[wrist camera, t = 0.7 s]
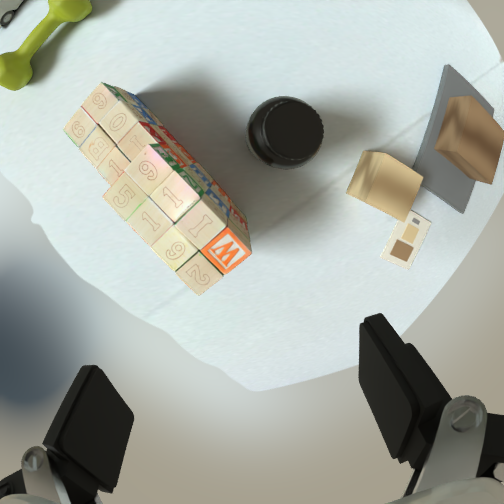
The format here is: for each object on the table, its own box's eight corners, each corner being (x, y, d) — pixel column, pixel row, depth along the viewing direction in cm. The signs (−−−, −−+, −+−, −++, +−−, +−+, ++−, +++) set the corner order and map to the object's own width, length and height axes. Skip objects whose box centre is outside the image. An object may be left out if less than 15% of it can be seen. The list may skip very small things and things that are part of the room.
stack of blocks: (100, 129, 29) (44, 128, 18) (134, 93, 28) (87, 73, 17) (210, 249, 36) (198, 299, 24) (248, 218, 35) (253, 255, 23)
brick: (449, 97, 28) (471, 95, 23) (483, 130, 29) (505, 132, 25) (433, 149, 31) (456, 151, 26) (469, 178, 32) (491, 184, 28)
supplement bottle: (254, 100, 29) (264, 76, 18) (310, 119, 30) (346, 106, 19) (237, 154, 32) (237, 158, 21) (293, 171, 33) (321, 184, 22)
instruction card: (403, 206, 35) (404, 206, 34) (430, 222, 36) (431, 222, 36) (379, 257, 37) (380, 257, 37) (407, 269, 38) (408, 270, 38)
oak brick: (363, 150, 32) (385, 153, 26) (398, 171, 33) (423, 177, 28) (345, 193, 34) (365, 202, 28) (381, 210, 35) (404, 222, 29)
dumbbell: (82, -8, 20) (59, -26, 14) (104, 12, 23) (81, -7, 16) (11, 71, 23) (-18, 66, 17) (27, 97, 26) (-4, 94, 19)
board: (444, 65, 27) (448, 64, 26) (489, 109, 29) (494, 109, 28) (409, 177, 33) (413, 178, 32) (458, 211, 35) (463, 213, 34)
